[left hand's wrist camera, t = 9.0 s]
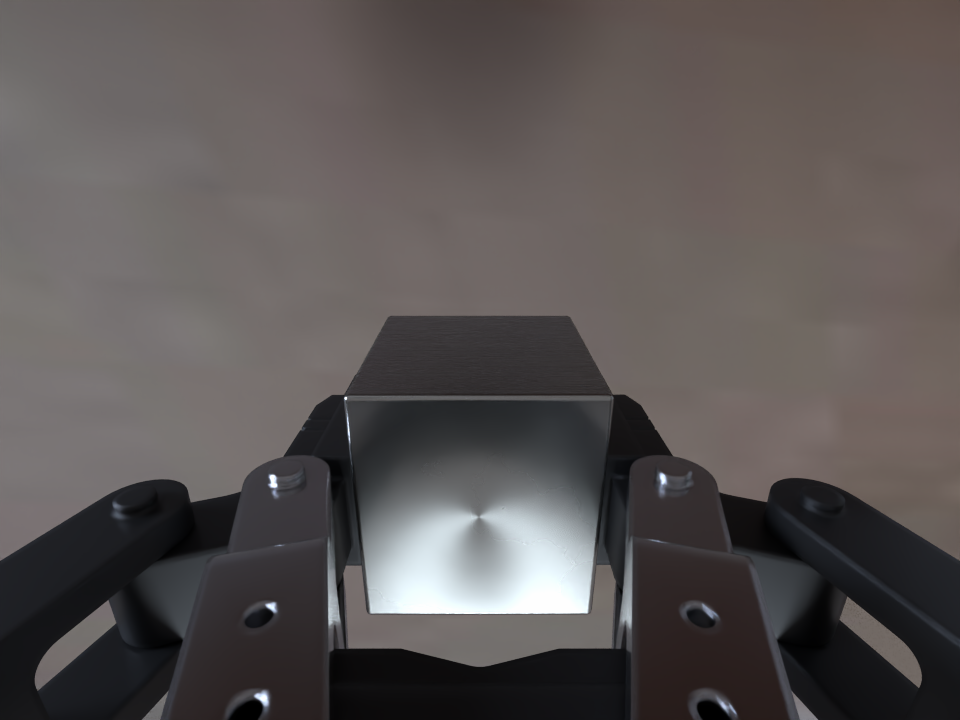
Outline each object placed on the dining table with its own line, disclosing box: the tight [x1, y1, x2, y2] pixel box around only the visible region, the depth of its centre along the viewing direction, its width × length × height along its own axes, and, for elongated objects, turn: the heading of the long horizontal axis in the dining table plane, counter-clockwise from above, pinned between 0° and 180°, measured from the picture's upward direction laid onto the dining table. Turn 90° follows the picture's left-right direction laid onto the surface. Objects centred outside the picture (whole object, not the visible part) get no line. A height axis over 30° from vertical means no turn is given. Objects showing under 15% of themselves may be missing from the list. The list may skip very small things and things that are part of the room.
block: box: [344, 316, 614, 615], centre depth 11 cm, size 4×4×4 cm
